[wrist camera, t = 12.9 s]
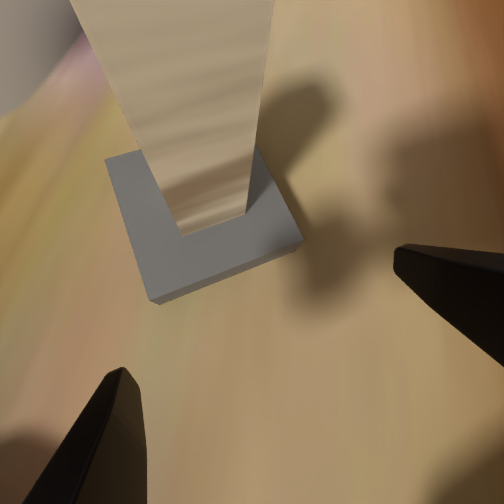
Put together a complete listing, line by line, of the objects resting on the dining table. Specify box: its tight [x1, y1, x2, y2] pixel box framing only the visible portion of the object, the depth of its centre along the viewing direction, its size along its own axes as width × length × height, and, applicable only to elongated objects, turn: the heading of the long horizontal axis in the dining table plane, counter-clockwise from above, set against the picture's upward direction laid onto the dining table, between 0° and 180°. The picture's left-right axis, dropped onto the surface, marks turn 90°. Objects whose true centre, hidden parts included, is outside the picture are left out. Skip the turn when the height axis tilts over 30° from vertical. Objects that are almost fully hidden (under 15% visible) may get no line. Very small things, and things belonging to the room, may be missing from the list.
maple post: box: [70, 0, 274, 237], centre depth 12 cm, size 5×5×13 cm
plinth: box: [104, 144, 304, 305], centre depth 19 cm, size 11×11×2 cm
